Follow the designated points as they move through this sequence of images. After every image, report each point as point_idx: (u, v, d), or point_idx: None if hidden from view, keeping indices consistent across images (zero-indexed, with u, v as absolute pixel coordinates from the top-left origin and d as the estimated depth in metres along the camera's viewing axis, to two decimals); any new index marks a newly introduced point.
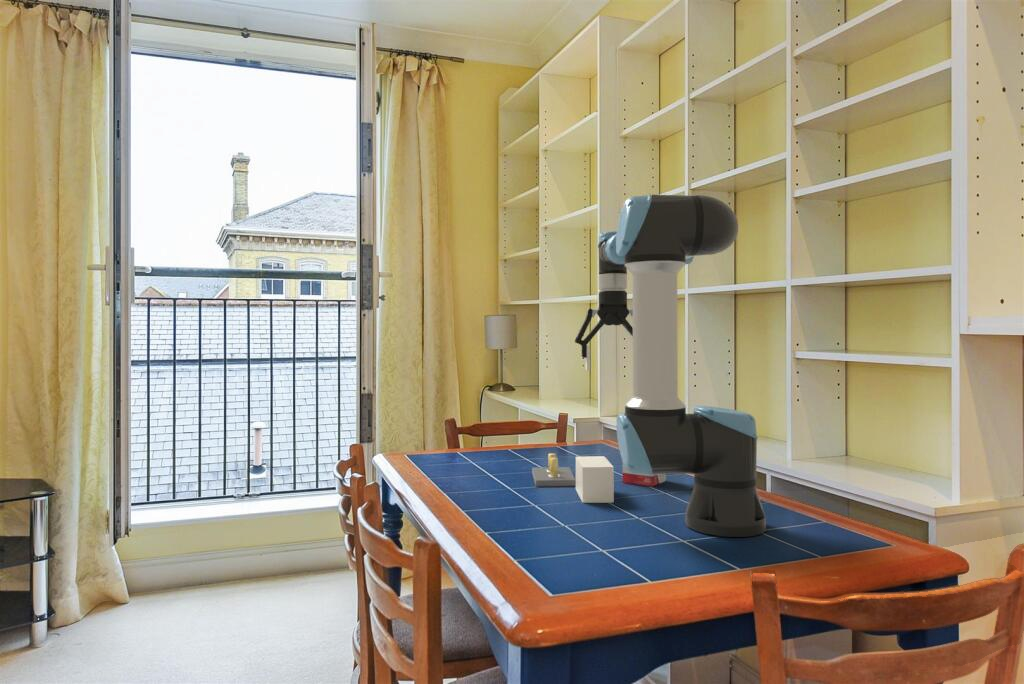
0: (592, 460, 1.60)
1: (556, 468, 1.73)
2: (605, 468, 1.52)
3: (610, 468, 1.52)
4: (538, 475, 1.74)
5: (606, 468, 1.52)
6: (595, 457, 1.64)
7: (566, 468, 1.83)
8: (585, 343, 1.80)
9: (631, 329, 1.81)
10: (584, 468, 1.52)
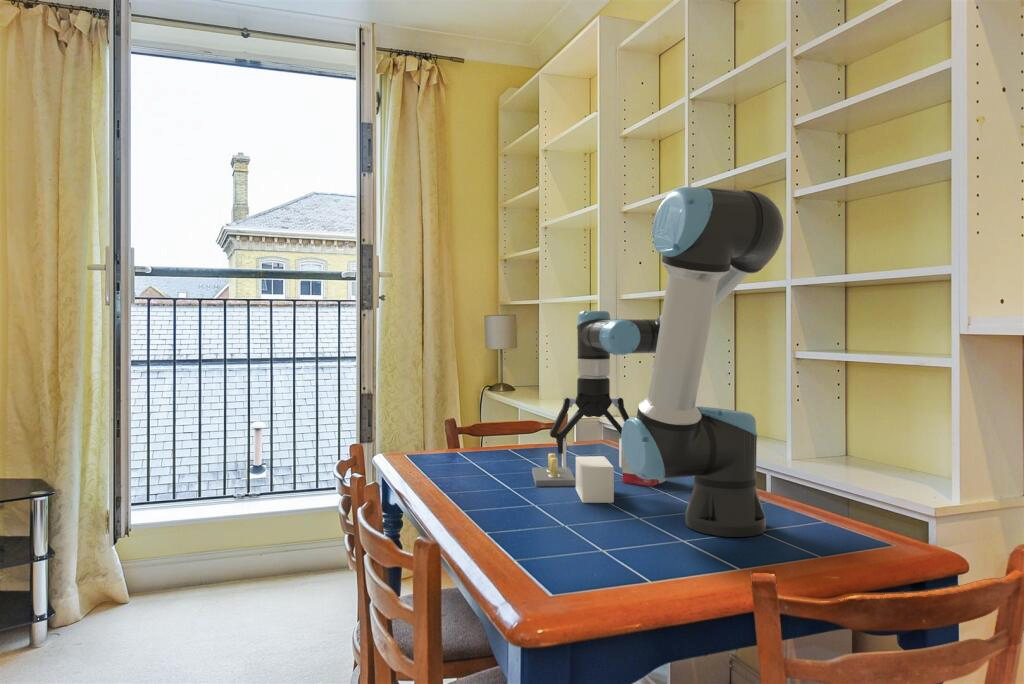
0: (592, 460, 1.60)
1: (556, 468, 1.73)
2: (605, 468, 1.52)
3: (610, 468, 1.52)
4: (538, 475, 1.74)
5: (606, 468, 1.52)
6: (595, 457, 1.64)
7: (566, 468, 1.83)
8: (561, 437, 1.58)
9: (614, 422, 1.58)
10: (584, 468, 1.52)
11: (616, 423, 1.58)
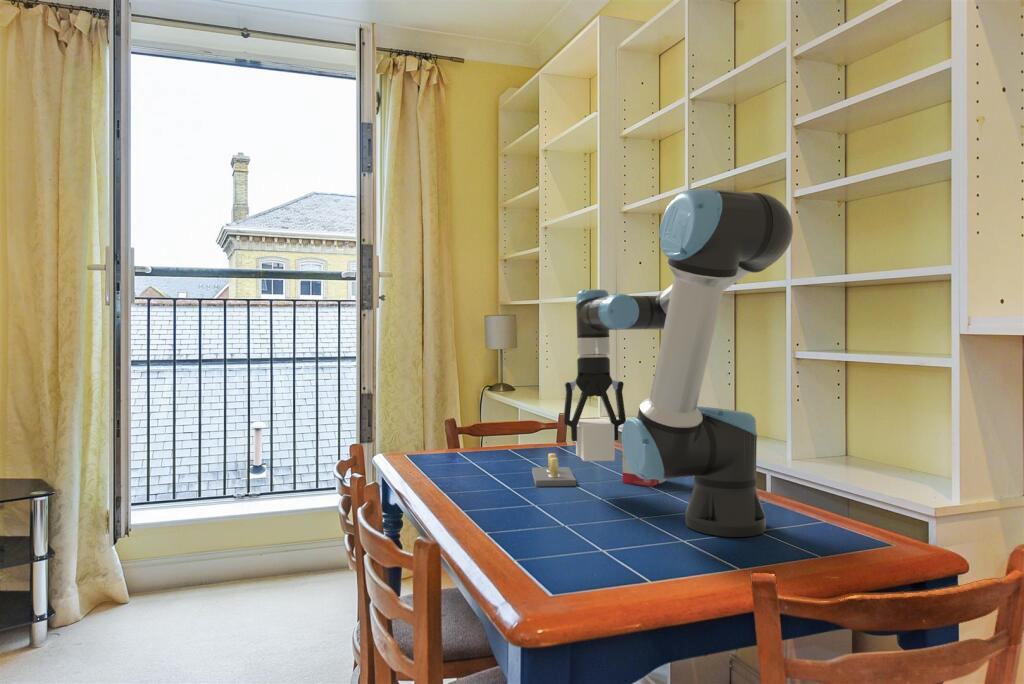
0: (593, 421, 1.60)
1: (556, 468, 1.73)
2: (606, 426, 1.52)
3: (611, 426, 1.52)
4: (538, 475, 1.74)
5: (607, 426, 1.52)
6: (596, 419, 1.63)
7: (566, 468, 1.83)
8: (575, 424, 1.57)
9: (608, 405, 1.57)
10: (585, 426, 1.52)
11: (610, 407, 1.57)
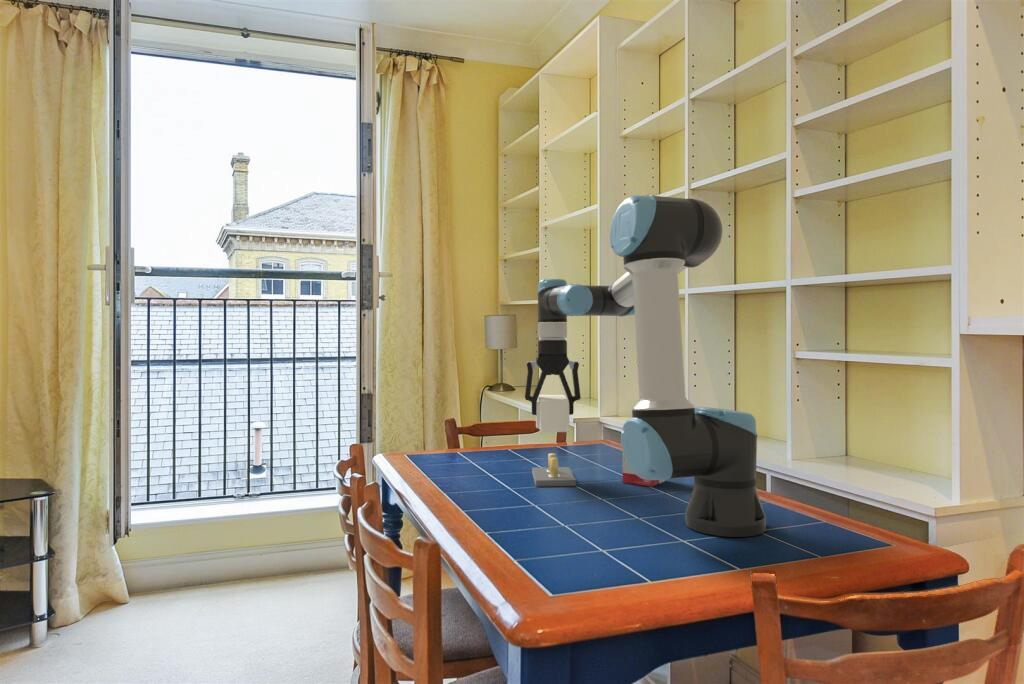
0: (551, 396, 1.78)
1: (556, 468, 1.73)
2: (561, 401, 1.70)
3: (565, 401, 1.70)
4: (538, 475, 1.74)
5: (562, 401, 1.70)
6: (555, 395, 1.82)
7: (566, 468, 1.83)
8: (535, 400, 1.75)
9: (565, 383, 1.75)
10: (542, 401, 1.70)
11: (566, 385, 1.75)
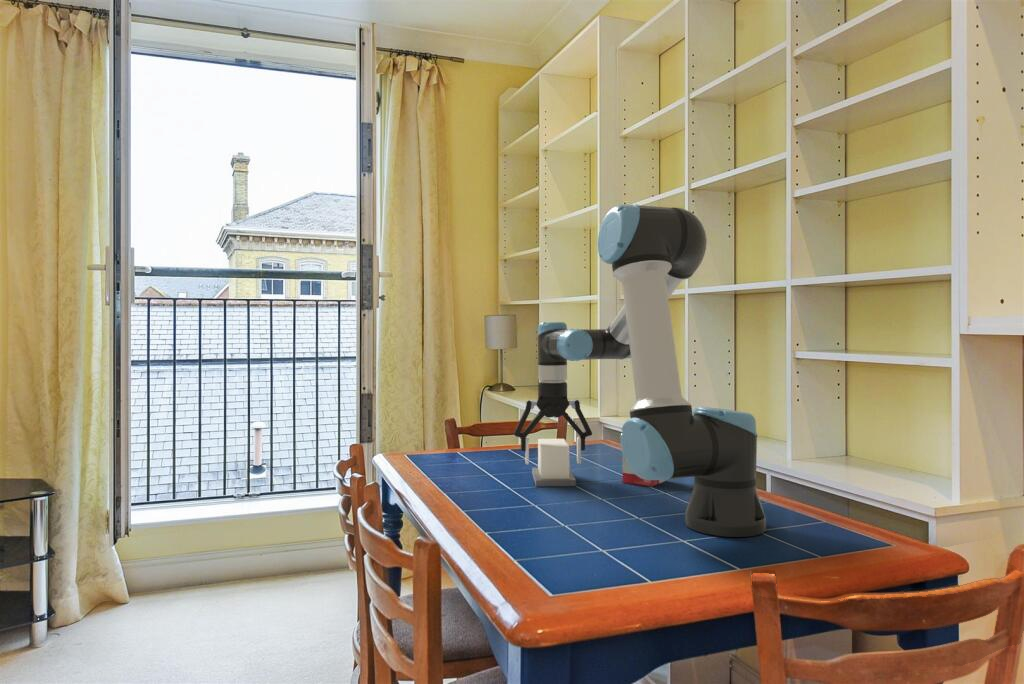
0: (552, 441, 1.78)
1: None
2: (562, 448, 1.70)
3: (566, 448, 1.70)
4: (538, 475, 1.74)
5: (562, 448, 1.70)
6: (555, 439, 1.82)
7: None
8: (524, 436, 1.75)
9: (571, 421, 1.75)
10: (543, 448, 1.70)
11: (573, 423, 1.75)
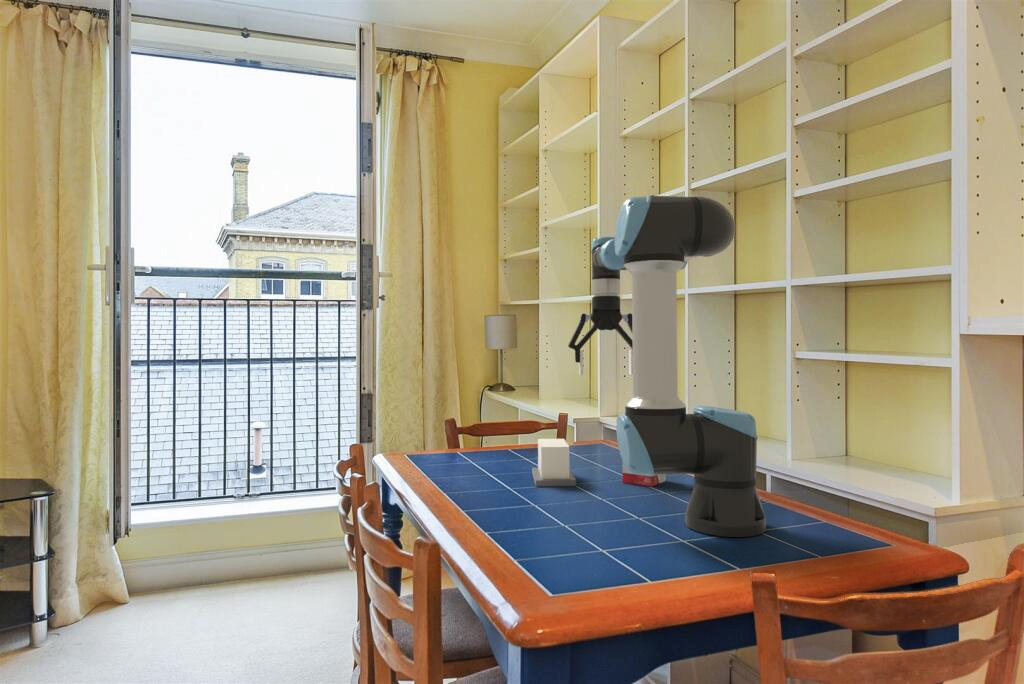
0: (552, 441, 1.78)
1: None
2: (562, 448, 1.70)
3: (566, 448, 1.70)
4: (538, 475, 1.74)
5: (562, 448, 1.70)
6: (555, 439, 1.82)
7: None
8: (578, 348, 1.81)
9: (624, 334, 1.81)
10: (543, 448, 1.70)
11: (626, 335, 1.81)
